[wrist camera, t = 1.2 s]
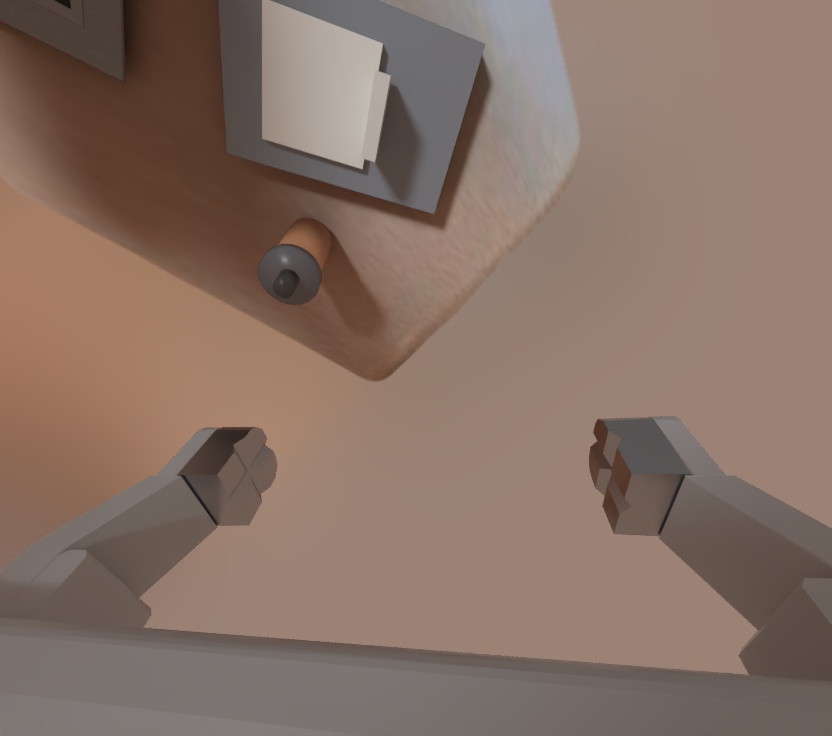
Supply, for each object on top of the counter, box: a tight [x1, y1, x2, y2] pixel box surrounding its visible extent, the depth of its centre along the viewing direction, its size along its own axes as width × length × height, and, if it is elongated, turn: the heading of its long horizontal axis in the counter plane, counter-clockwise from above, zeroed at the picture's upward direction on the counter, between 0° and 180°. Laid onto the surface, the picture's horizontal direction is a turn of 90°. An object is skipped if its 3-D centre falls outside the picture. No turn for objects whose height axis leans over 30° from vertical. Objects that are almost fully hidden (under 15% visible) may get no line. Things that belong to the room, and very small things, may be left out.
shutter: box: [262, 0, 392, 169], centre depth 25 cm, size 9×8×5 cm
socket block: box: [218, 0, 485, 214], centre depth 28 cm, size 18×12×2 cm, turn 74°
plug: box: [258, 218, 332, 305], centre depth 31 cm, size 5×5×12 cm
